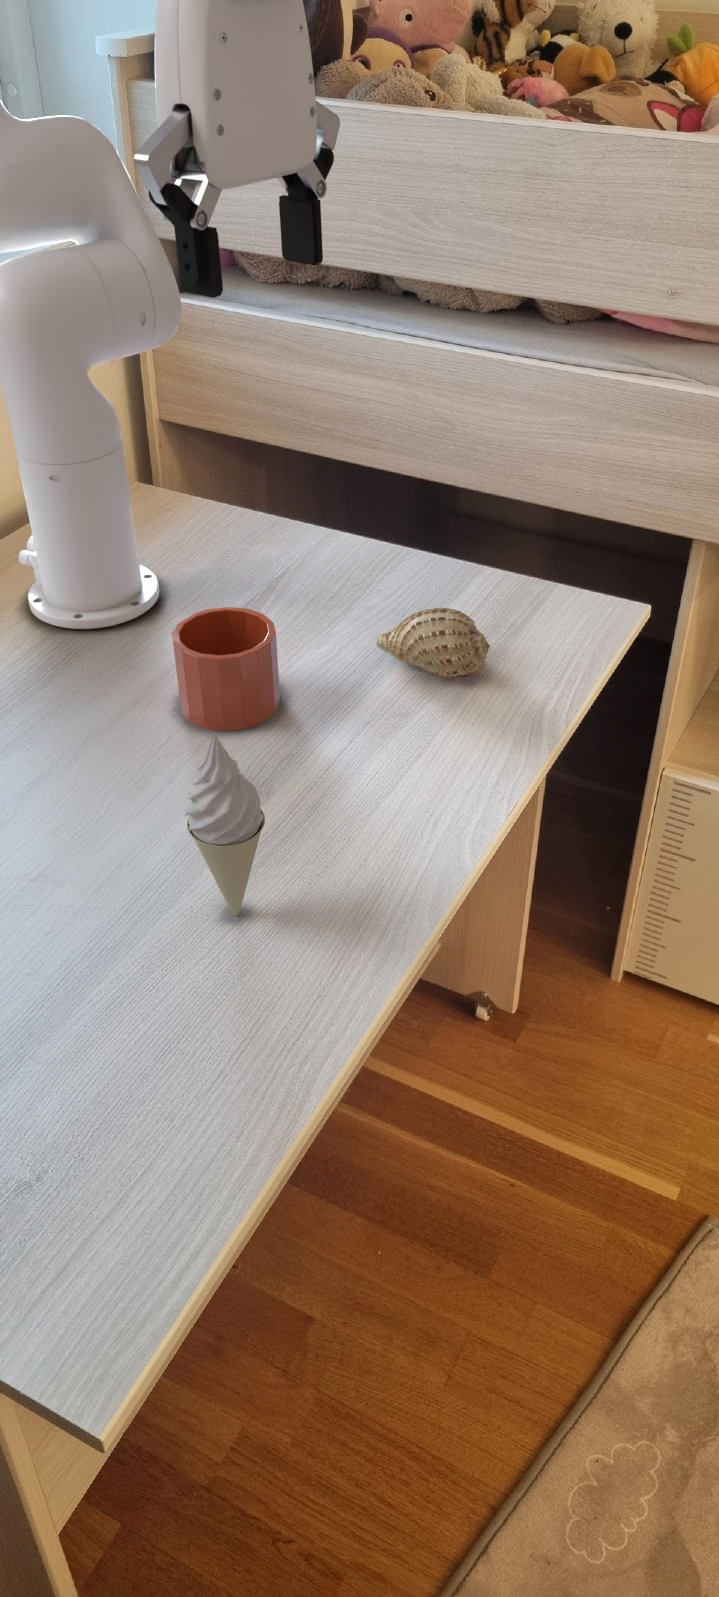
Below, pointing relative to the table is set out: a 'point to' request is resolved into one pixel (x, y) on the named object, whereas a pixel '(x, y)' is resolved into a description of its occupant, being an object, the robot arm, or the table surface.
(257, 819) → the ice cream cone
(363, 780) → the table surface
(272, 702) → the cone holder
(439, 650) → the seashell
